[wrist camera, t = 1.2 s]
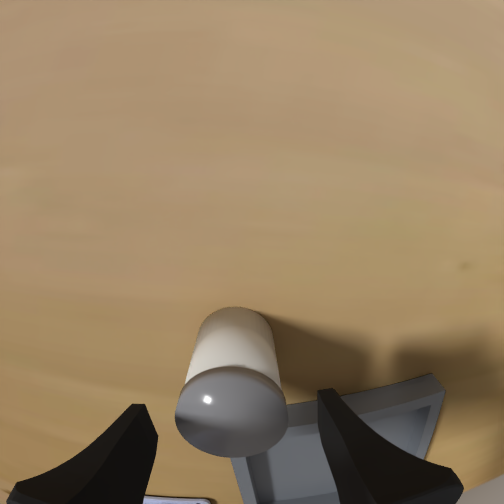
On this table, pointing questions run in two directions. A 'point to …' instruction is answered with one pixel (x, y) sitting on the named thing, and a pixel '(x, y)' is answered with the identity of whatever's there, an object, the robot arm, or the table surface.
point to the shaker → (233, 387)
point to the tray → (311, 451)
